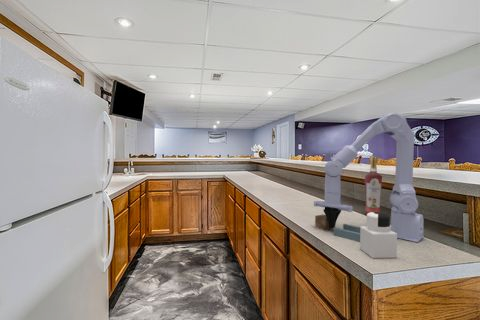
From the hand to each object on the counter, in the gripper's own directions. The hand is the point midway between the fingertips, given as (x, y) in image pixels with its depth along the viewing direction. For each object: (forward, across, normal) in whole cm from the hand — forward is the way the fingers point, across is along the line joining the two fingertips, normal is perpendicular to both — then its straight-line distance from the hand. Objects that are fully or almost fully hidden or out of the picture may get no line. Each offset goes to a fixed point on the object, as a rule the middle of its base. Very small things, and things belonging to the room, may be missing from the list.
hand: (332, 227), depth 95 cm
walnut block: (+1, +4, -2) cm, 5 cm away
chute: (+1, -8, 0) cm, 8 cm away
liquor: (+1, -3, -37) cm, 37 cm away
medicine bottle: (+2, -19, +11) cm, 22 cm away
